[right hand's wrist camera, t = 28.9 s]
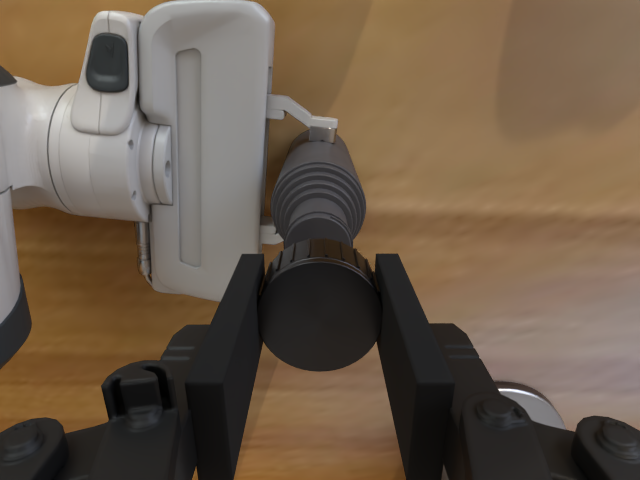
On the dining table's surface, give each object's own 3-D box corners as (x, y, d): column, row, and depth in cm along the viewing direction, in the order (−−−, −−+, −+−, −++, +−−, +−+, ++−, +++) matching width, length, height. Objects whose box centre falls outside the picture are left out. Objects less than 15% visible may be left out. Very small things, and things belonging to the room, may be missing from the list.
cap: (353, 219, 14) (359, 240, 12) (392, 317, 15) (402, 350, 13) (243, 260, 14) (232, 286, 12) (290, 352, 16) (286, 388, 14)
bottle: (329, 199, 36) (340, 320, 19) (277, 171, 35) (235, 269, 18) (360, 147, 34) (404, 225, 17) (306, 116, 34) (292, 164, 16)
